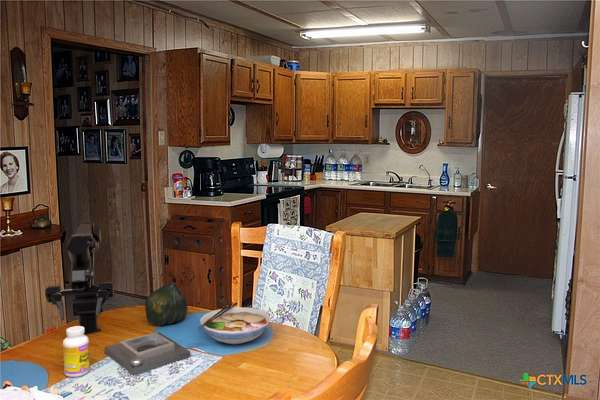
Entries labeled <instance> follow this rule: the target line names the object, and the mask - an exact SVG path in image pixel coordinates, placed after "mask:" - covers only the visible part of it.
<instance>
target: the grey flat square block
mask: <svg viewBox="0 0 600 400" xmlns="http://www.w3.org/2000/svg"><path fill="white" fill-rule="evenodd" d="M104 354H105V355H107V356H108V357H109V358H110V359H112V360H113V361H114V362H115V363H117V364H118V365H119V366H120V367H122V368H123V369H124V370H126V371H127V372H128V373H129V374H131V375H132V376H137V375H139V374H142V373H145V372H148V371H149V372H150V371H152V370H155V369H158V367H159V368H161V366H162V367H164V365H165V366H168V365H171V364H174V363H177V362H176V361H178V362H180V360H181V361H183V359H184V360H186V358H187V359H190V358H191V350H189V349H187V348H186V347H185V346H183V345H181V344H179V343H177V342H176V341H174V340H173V339H171V338H169V337H167V336H166V335H164V334H163V333H161V332H157V331H155V332H152V333H149V334H147V333H146V334H144V335H139V336H137V337H133V338H129V339H126V340H121V341H119V342H117V343H115V344H110V345H107V346H104ZM189 357H190V358H189ZM173 362H174V363H173ZM170 363H171V364H170ZM167 364H168V365H167Z"/></svg>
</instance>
